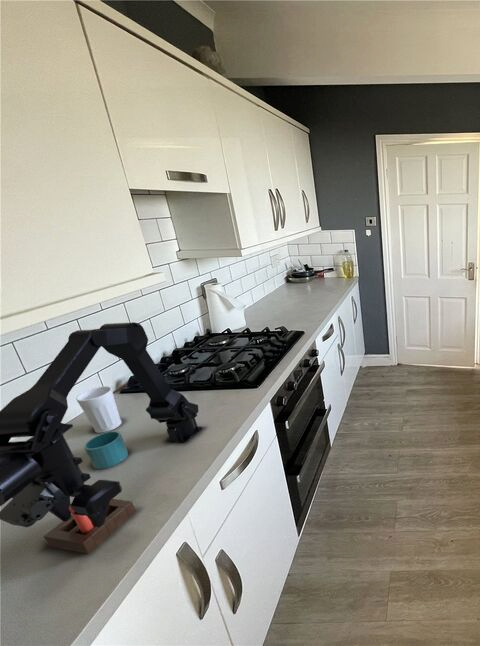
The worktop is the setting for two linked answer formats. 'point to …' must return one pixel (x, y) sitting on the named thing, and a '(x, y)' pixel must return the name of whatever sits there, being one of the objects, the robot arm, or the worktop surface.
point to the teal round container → (106, 450)
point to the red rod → (82, 522)
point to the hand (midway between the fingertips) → (84, 522)
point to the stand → (74, 540)
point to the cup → (100, 408)
